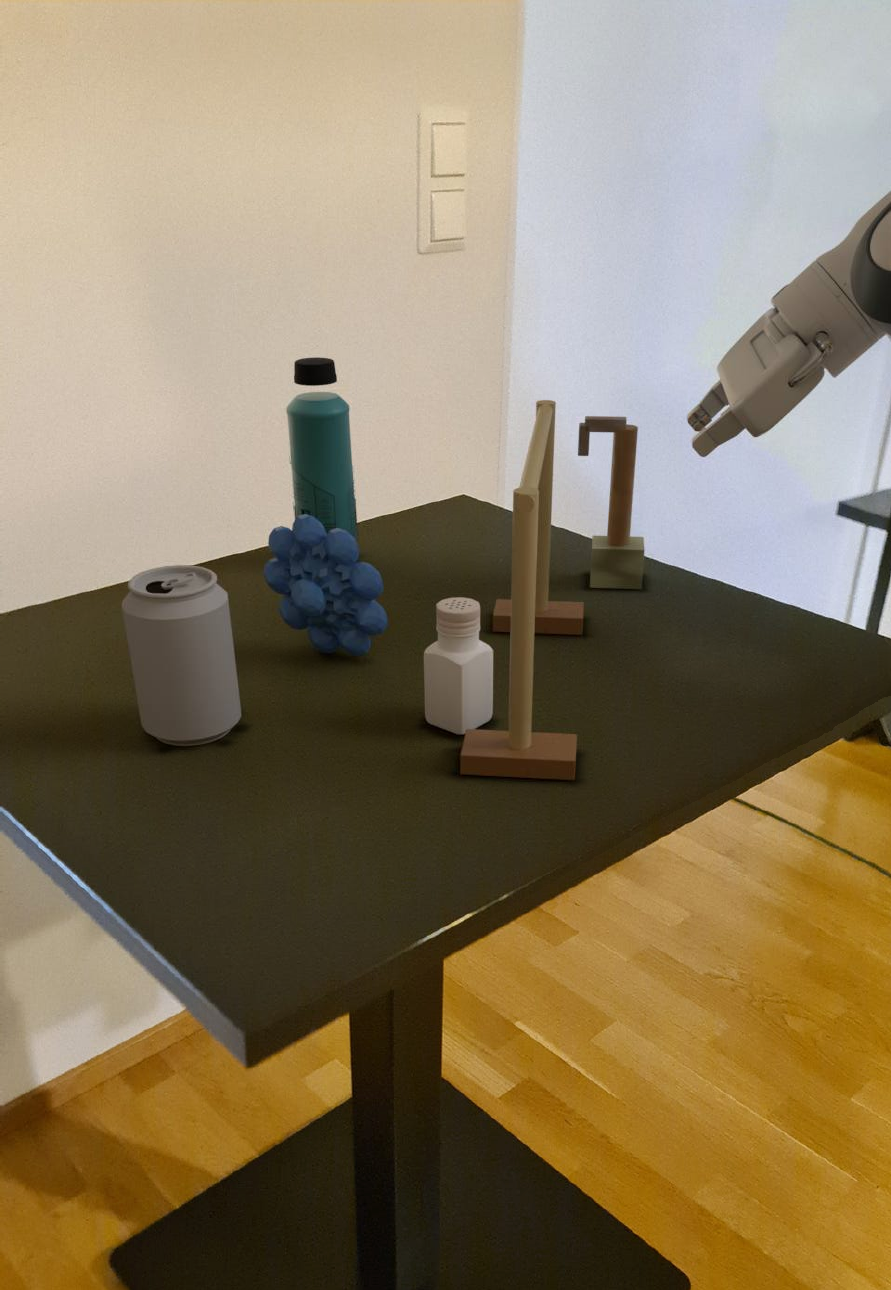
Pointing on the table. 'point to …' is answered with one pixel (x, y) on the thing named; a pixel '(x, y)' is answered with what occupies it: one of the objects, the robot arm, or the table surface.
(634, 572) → the hook hanger stand
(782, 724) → the table surface
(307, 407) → the beverage bottle
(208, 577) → the can
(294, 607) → the grapes
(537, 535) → the wooden dowel stand
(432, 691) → the pepper shaker
